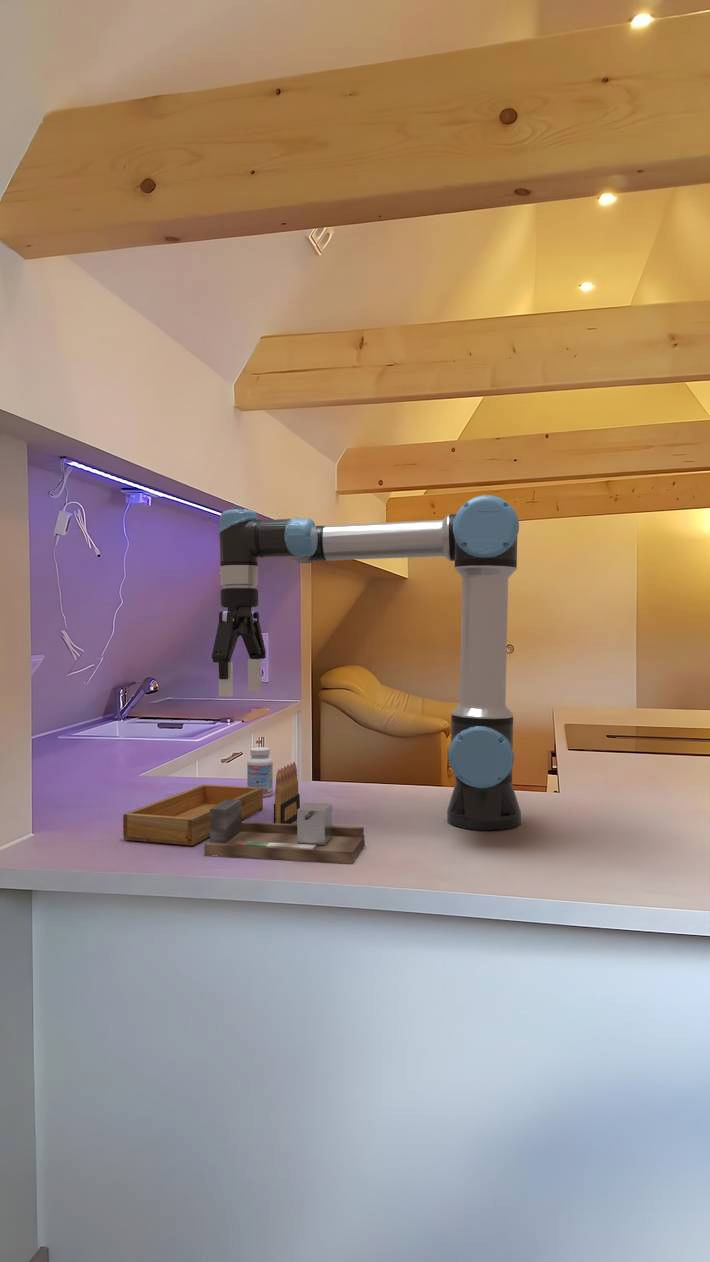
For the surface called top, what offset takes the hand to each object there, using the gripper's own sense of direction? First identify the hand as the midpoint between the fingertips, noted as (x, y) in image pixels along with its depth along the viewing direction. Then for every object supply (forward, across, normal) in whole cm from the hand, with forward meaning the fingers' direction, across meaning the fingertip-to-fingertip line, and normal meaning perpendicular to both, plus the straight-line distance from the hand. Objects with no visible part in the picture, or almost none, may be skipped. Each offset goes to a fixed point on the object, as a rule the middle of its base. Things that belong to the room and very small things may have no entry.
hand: (240, 693), depth 157 cm
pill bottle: (+28, -29, -9) cm, 41 cm away
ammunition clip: (+28, -7, +7) cm, 29 cm away
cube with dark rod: (+25, +13, +20) cm, 35 cm away
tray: (+28, -1, -11) cm, 30 cm away
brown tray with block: (+27, +12, +14) cm, 33 cm away
